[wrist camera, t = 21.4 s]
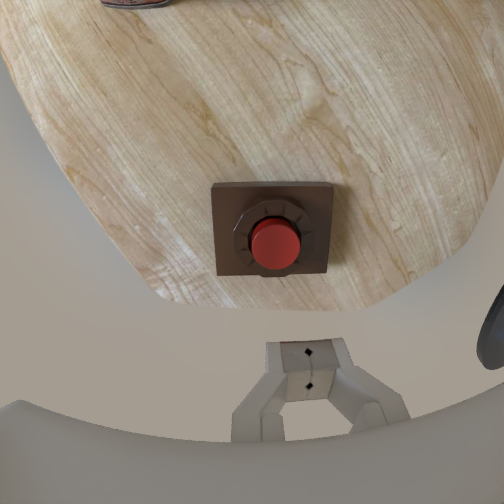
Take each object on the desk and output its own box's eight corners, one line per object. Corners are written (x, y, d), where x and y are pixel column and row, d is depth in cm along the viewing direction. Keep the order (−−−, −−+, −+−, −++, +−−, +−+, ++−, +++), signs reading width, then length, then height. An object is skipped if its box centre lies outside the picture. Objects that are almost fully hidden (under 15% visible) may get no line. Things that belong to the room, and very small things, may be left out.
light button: (297, 217, 22) (301, 224, 20) (295, 259, 23) (299, 269, 22) (251, 218, 22) (251, 225, 20) (252, 260, 23) (252, 270, 22)
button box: (326, 181, 24) (340, 191, 21) (321, 262, 28) (331, 283, 24) (213, 182, 24) (207, 192, 21) (219, 265, 28) (214, 286, 24)
